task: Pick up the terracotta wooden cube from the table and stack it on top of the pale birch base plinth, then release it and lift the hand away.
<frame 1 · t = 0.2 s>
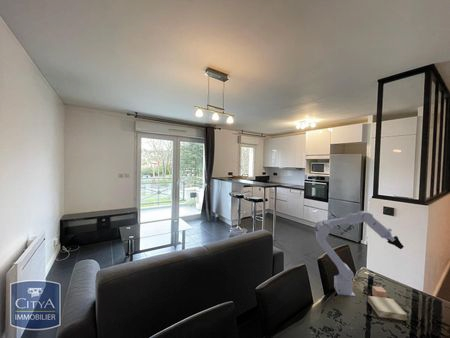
hand: (398, 244, 113), 31 cm above the table, tool tilted 45°, fingers open, 7 cm apart
birch base: (386, 310, 103), on the table
terracotta cube: (379, 297, 114), on the table
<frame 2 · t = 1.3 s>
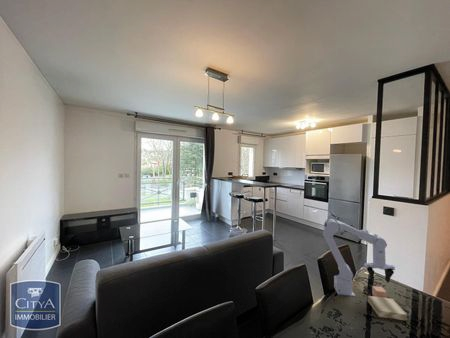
hand: (379, 280, 113), 10 cm above the table, tool pointing down, fingers open, 7 cm apart
nothing on the table moved.
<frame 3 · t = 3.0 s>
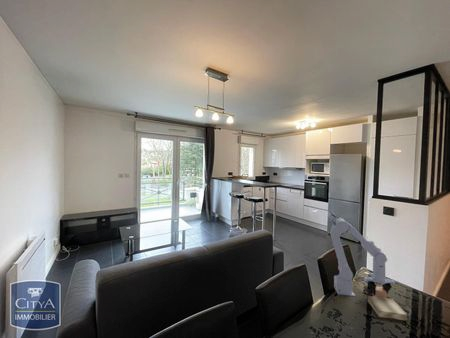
hand: (379, 294, 114), 1 cm above the table, tool pointing down, fingers closed on terracotta cube, 5 cm apart
terracotta cube: (379, 297, 114), on the table, touching gripper
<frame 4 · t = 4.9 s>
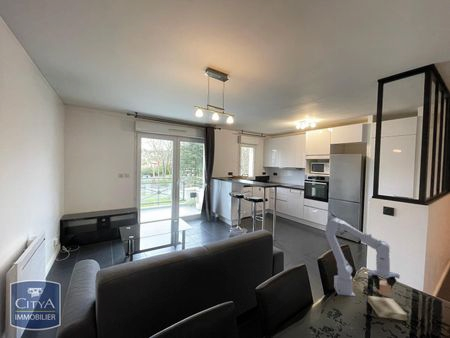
hand: (383, 289, 107), 8 cm above the table, tool pointing down, fingers closed on terracotta cube, 5 cm apart
terracotta cube: (383, 291, 108), point 7 cm above the table, touching gripper
when the fingers open (6 cm above the table, at t = 6.6 s): terracotta cube drops 1 cm, resting on birch base.
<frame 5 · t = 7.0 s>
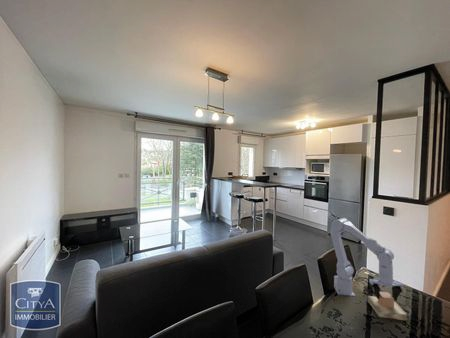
hand: (386, 298, 103), 6 cm above the table, tool pointing down, fingers open, 7 cm apart
terracotta cube: (385, 304, 103), point 3 cm above the table, touching birch base
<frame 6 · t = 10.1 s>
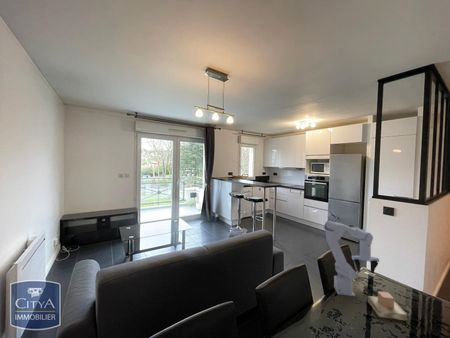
hand: (365, 271, 124), 9 cm above the table, tool pointing down, fingers open, 7 cm apart
nothing on the table moved.
at the end: terracotta cube inside the target area on the birch base (0.2 cm from its centre), point 3.0 cm above the birch base's base; terracotta cube tilted 0°; the gripper is holding nothing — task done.
